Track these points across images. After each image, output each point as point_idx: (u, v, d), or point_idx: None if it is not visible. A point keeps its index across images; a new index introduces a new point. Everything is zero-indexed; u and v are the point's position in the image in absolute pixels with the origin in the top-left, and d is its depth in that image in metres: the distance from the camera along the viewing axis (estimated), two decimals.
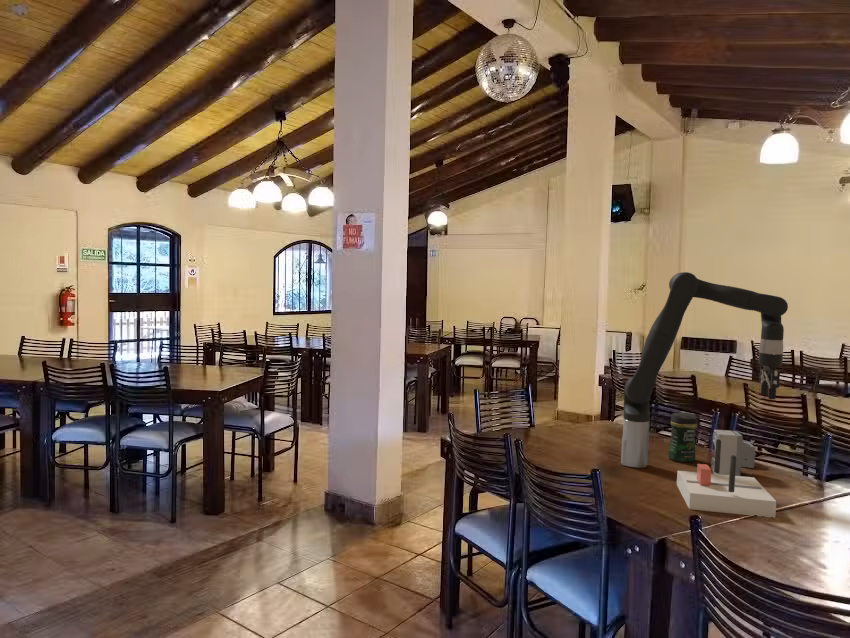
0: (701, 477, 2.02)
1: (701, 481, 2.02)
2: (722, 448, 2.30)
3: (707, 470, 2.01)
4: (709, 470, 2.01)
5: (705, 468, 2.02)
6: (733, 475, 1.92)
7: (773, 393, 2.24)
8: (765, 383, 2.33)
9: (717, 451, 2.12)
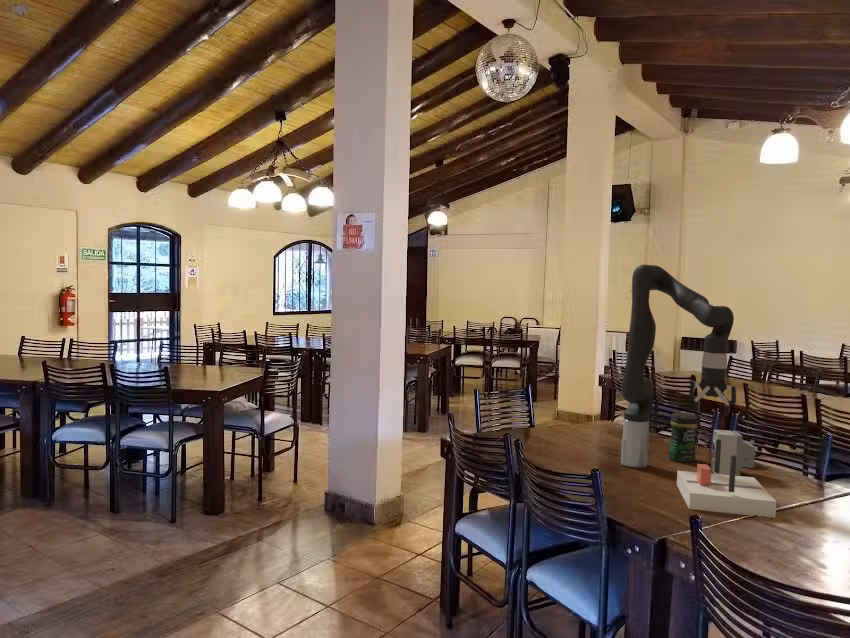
0: (701, 477, 2.02)
1: (701, 481, 2.02)
2: (722, 448, 2.30)
3: (707, 470, 2.01)
4: (709, 470, 2.01)
5: (705, 468, 2.02)
6: (733, 475, 1.92)
7: None
8: (698, 400, 2.14)
9: (717, 451, 2.12)
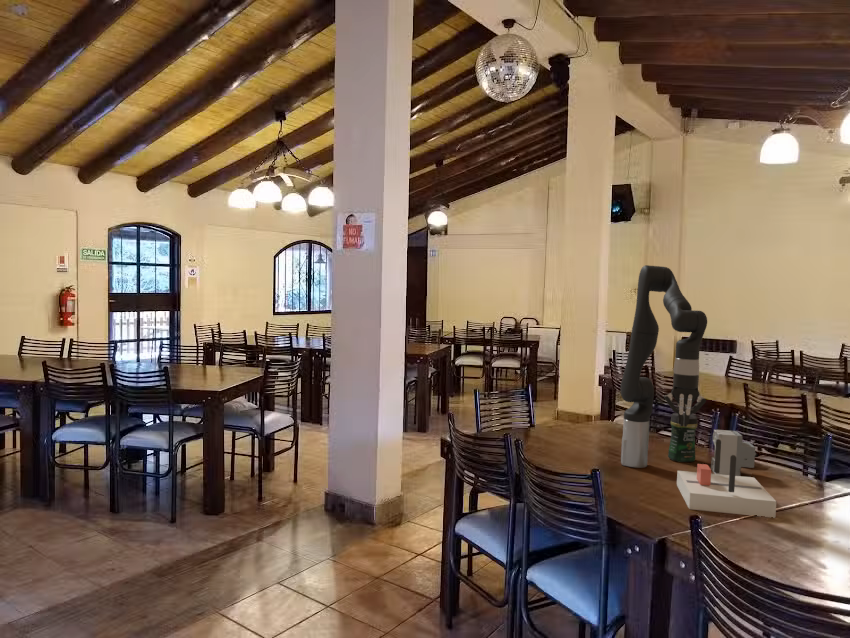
0: (701, 477, 2.02)
1: (701, 481, 2.02)
2: (722, 448, 2.30)
3: (707, 470, 2.01)
4: (709, 470, 2.01)
5: (705, 468, 2.02)
6: (733, 475, 1.92)
7: (688, 419, 2.05)
8: None
9: (717, 451, 2.12)
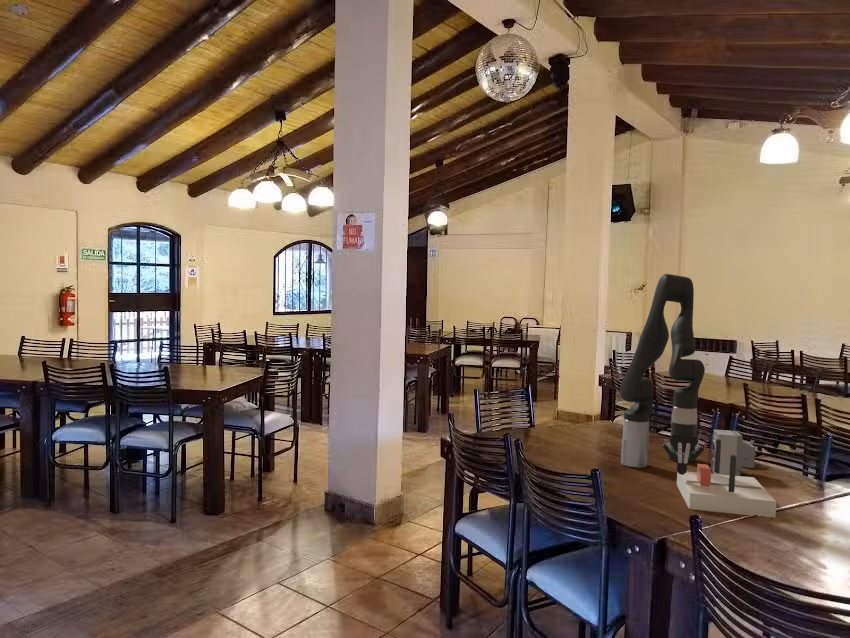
0: (701, 477, 2.02)
1: (701, 481, 2.02)
2: (722, 448, 2.30)
3: (707, 470, 2.01)
4: (709, 470, 2.01)
5: (705, 468, 2.02)
6: (733, 475, 1.92)
7: None
8: None
9: (717, 451, 2.12)
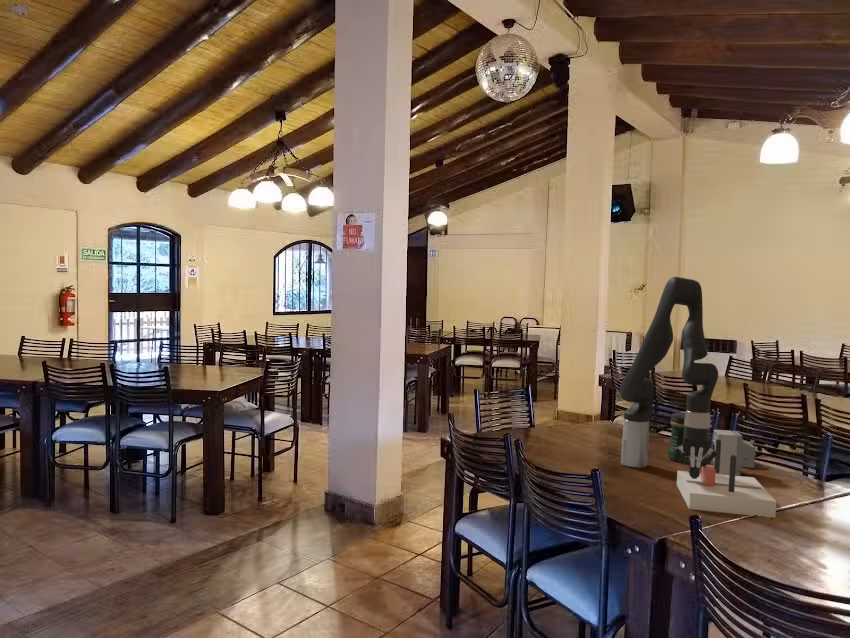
0: (705, 477, 2.01)
1: (705, 481, 2.01)
2: (722, 448, 2.30)
3: (711, 470, 2.01)
4: (713, 470, 2.01)
5: (709, 468, 2.02)
6: (733, 475, 1.92)
7: (698, 471, 2.05)
8: None
9: (717, 451, 2.12)
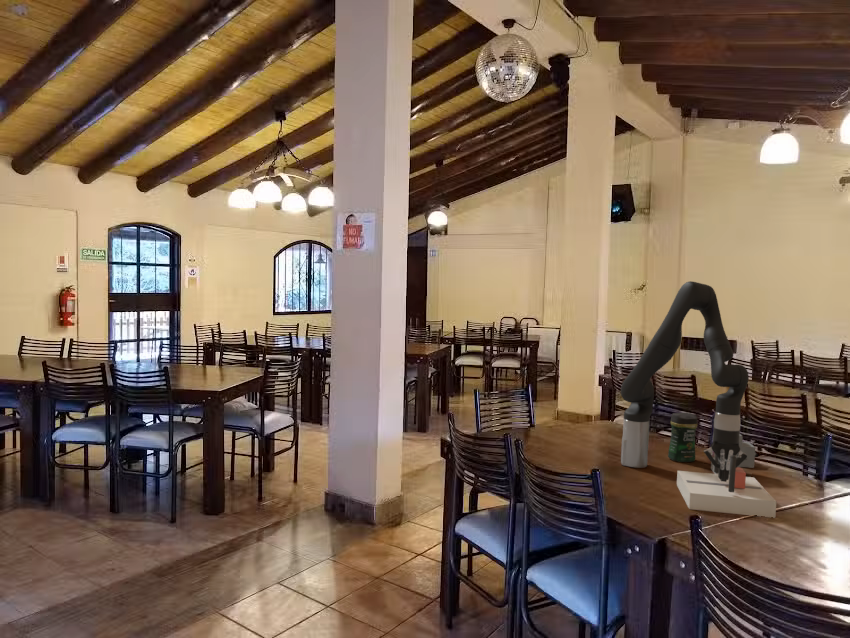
0: (735, 480, 1.99)
1: (735, 484, 1.99)
2: None
3: (742, 473, 1.99)
4: (744, 473, 1.99)
5: (739, 471, 2.00)
6: (733, 475, 1.92)
7: None
8: None
9: None
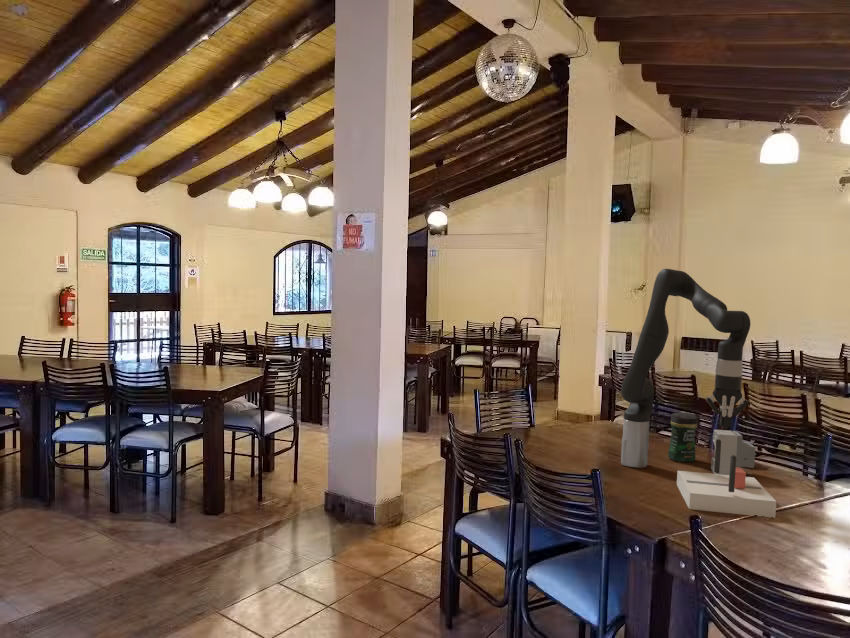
0: (735, 480, 1.99)
1: (735, 484, 1.99)
2: (722, 448, 2.30)
3: (742, 473, 1.99)
4: (744, 473, 1.99)
5: (739, 471, 2.00)
6: (733, 475, 1.92)
7: None
8: None
9: (717, 451, 2.12)
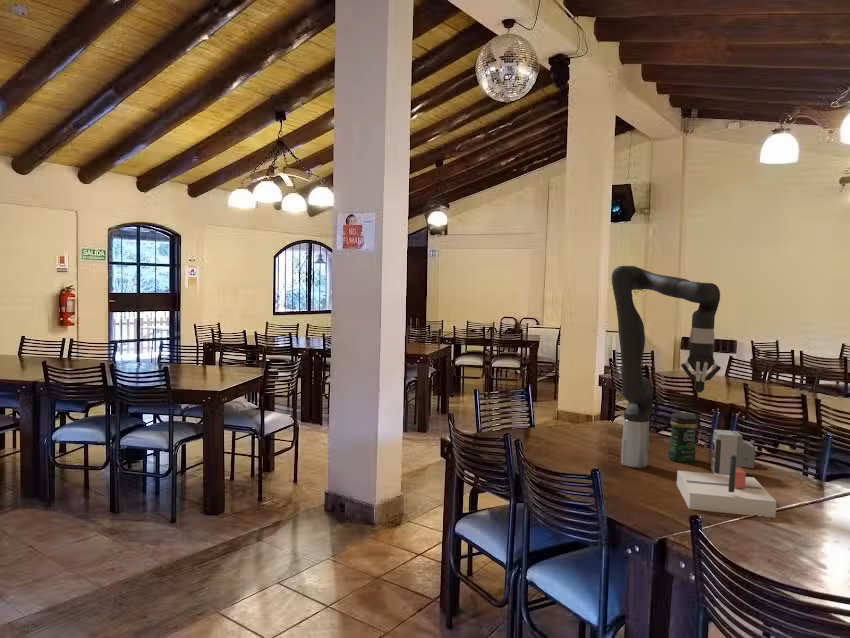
0: (735, 480, 1.99)
1: (735, 484, 1.99)
2: (722, 448, 2.30)
3: (742, 473, 1.99)
4: (744, 473, 1.99)
5: (739, 471, 2.00)
6: (733, 475, 1.92)
7: (703, 385, 2.17)
8: None
9: (717, 451, 2.12)
